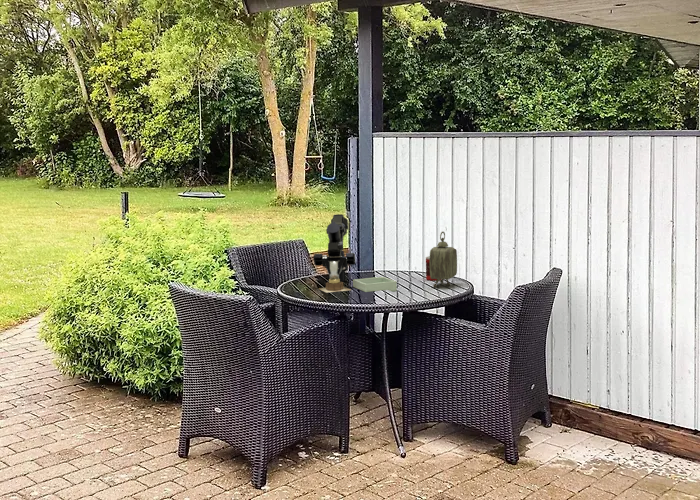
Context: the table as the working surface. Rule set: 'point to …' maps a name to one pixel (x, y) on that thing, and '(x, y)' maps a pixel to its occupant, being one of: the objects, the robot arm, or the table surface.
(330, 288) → the socket block
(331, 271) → the spice shaker
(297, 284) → the table surface
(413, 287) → the table surface
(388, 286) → the bin
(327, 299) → the table surface
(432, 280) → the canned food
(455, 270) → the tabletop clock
